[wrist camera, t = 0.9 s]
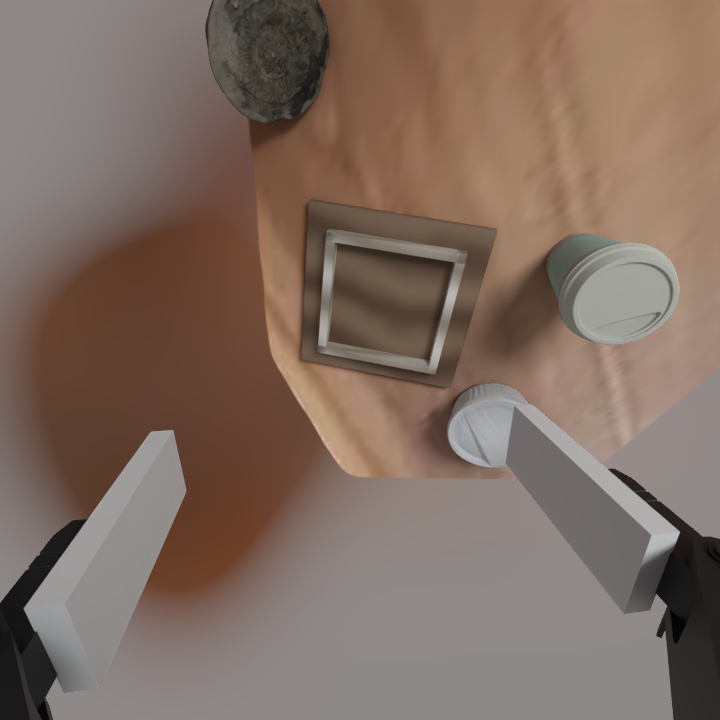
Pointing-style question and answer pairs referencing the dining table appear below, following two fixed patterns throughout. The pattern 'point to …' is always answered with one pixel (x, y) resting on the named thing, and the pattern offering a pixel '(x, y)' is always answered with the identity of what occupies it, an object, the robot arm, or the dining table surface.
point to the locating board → (390, 290)
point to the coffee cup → (612, 288)
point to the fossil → (268, 55)
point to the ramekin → (483, 423)
